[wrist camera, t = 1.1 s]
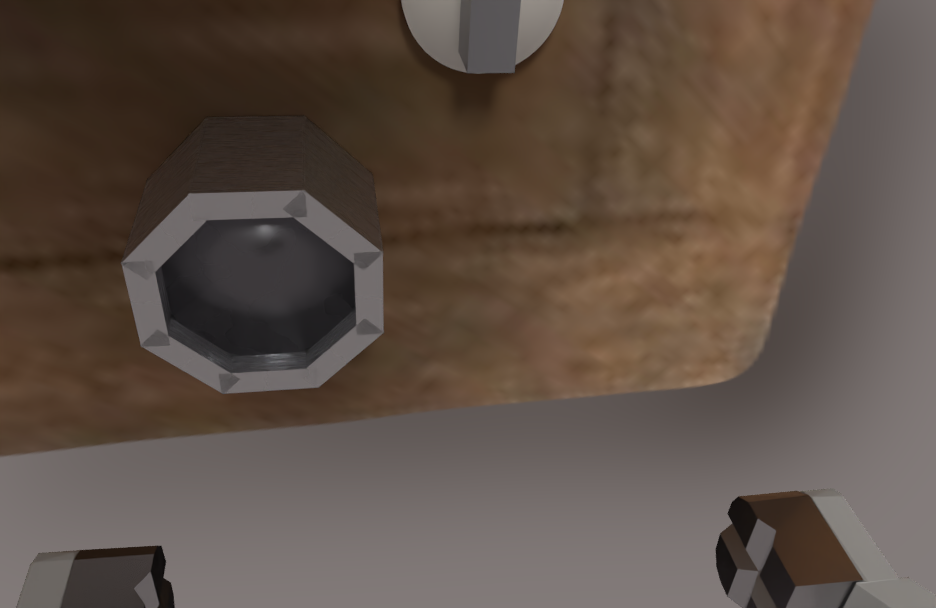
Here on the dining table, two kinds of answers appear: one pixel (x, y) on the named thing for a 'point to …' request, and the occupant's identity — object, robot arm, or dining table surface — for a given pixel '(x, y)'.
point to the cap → (481, 31)
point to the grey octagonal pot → (257, 256)
